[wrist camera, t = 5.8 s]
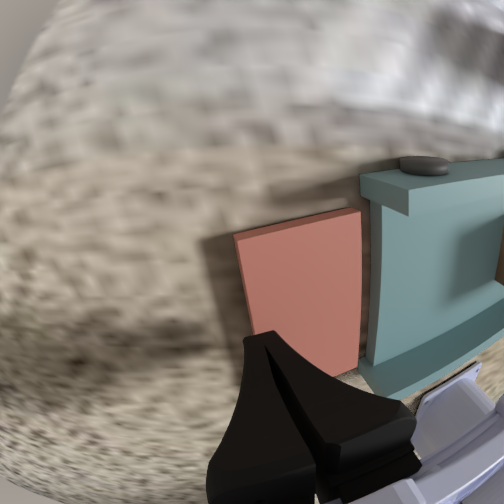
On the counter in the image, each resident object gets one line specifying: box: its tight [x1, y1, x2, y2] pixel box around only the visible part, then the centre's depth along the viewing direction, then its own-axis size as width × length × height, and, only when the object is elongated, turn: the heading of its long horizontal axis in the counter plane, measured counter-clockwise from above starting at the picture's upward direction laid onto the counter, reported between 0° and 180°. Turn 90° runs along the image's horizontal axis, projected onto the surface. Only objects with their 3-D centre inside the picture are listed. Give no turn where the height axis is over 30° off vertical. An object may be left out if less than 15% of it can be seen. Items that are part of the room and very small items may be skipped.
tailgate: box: [233, 207, 362, 377], centre depth 14 cm, size 9×1×5 cm
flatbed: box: [358, 156, 504, 400], centre depth 15 cm, size 13×20×4 cm, turn 99°
